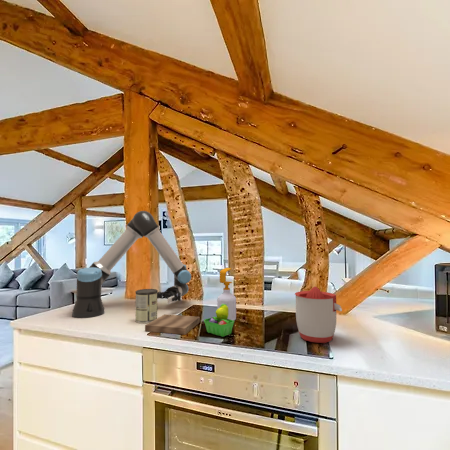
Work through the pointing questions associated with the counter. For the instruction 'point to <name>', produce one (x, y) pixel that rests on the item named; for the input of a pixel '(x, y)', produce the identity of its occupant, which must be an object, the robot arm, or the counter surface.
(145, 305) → the coffee can
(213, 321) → the fruit basket
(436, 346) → the counter surface
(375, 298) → the counter surface
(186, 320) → the walnut trivet board
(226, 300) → the soap bottle
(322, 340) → the citrus juicer
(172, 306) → the counter surface
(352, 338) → the counter surface
